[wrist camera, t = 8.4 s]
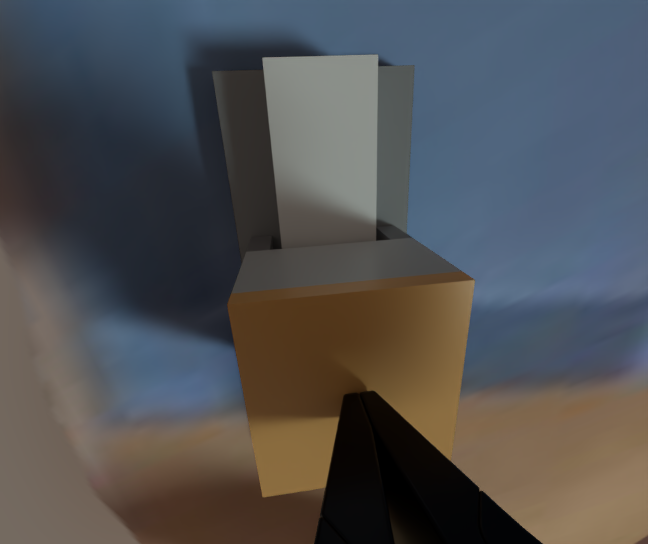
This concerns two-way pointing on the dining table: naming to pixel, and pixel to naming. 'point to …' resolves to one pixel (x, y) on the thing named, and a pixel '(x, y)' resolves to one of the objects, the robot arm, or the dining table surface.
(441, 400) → the block
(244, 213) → the rail
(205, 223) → the dining table surface
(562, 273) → the dining table surface
